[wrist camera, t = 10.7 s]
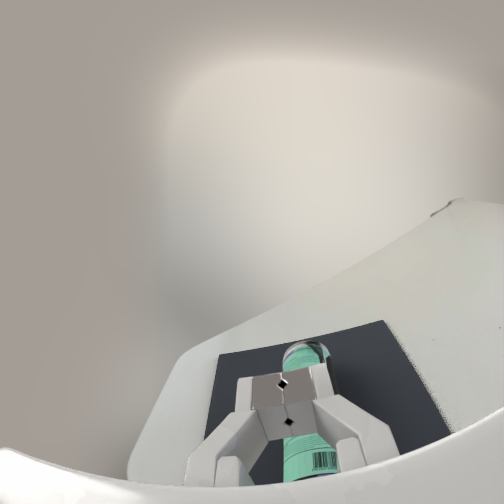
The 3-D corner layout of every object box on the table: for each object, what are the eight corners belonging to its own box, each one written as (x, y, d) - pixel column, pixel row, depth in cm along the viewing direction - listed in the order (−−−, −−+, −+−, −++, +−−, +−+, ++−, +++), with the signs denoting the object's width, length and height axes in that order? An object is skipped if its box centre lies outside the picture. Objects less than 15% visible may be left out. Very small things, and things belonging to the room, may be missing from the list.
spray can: (371, 488, 15) (336, 341, 34) (320, 478, 14) (302, 319, 33) (319, 512, 17) (306, 369, 35) (267, 501, 16) (272, 349, 35)
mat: (194, 507, 18) (192, 506, 18) (219, 356, 41) (219, 354, 41) (459, 453, 16) (460, 451, 16) (382, 321, 39) (382, 319, 39)
